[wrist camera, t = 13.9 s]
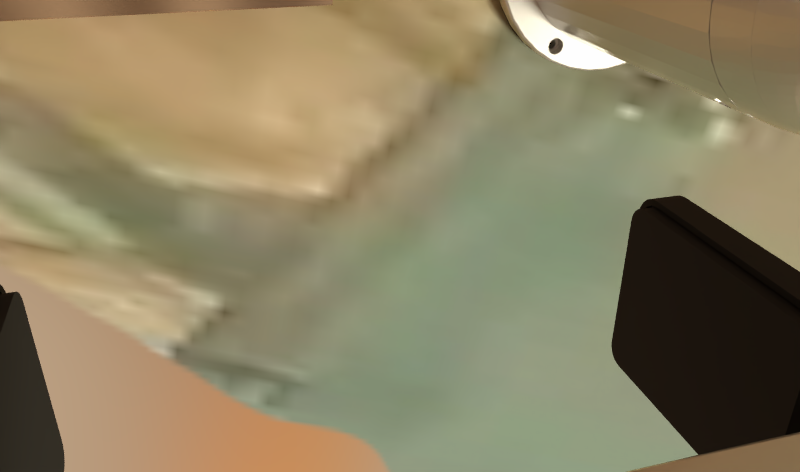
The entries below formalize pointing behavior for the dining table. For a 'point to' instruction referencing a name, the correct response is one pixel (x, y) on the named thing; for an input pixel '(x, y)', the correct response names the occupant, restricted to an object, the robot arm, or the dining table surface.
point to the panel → (131, 7)
